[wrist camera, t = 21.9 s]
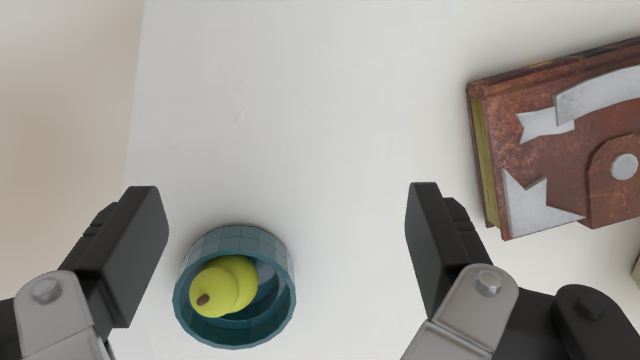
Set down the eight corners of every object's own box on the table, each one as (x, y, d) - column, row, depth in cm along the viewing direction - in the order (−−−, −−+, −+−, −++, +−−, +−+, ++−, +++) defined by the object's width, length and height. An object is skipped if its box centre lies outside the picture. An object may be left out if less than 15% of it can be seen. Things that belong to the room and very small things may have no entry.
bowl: (164, 288, 40) (151, 322, 35) (217, 203, 37) (210, 228, 32) (258, 328, 43) (257, 365, 38) (312, 252, 40) (318, 282, 36)
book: (697, 18, 37) (758, 11, 32) (693, 173, 42) (747, 186, 37) (460, 82, 37) (487, 85, 32) (482, 232, 41) (509, 254, 36)
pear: (200, 282, 39) (151, 311, 30) (230, 237, 39) (190, 252, 30) (245, 314, 39) (208, 354, 30) (275, 268, 39) (248, 294, 29)
